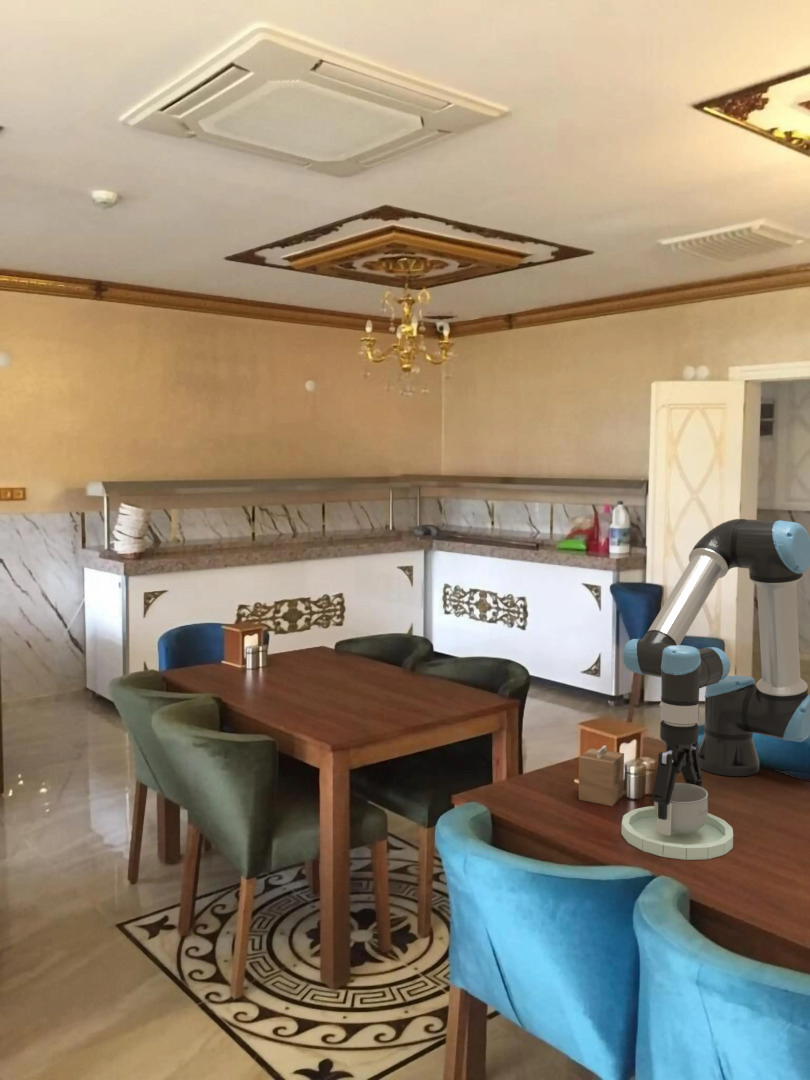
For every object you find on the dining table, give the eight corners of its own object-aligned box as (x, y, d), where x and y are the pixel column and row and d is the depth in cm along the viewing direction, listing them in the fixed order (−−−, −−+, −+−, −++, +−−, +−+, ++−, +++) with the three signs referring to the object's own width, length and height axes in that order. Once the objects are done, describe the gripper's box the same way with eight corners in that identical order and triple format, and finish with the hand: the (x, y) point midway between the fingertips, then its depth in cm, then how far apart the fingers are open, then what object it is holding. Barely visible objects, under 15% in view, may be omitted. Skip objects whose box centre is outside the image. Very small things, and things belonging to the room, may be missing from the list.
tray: (651, 808, 207) (651, 798, 206) (749, 834, 192) (749, 823, 192) (602, 839, 190) (603, 827, 190) (706, 869, 176) (706, 857, 176)
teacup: (710, 840, 184) (711, 802, 183) (654, 836, 186) (655, 798, 185) (702, 814, 198) (702, 778, 197) (649, 810, 200) (650, 775, 199)
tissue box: (590, 788, 219) (591, 741, 218) (623, 795, 215) (624, 746, 214) (578, 799, 212) (579, 750, 211) (612, 806, 208) (613, 756, 207)
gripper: (686, 706, 201) (684, 803, 202) (635, 731, 183) (633, 837, 185) (720, 712, 196) (717, 812, 198) (671, 738, 178) (668, 847, 180)
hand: (676, 824), depth 191 cm, fingers closed on teacup, 11 cm apart
